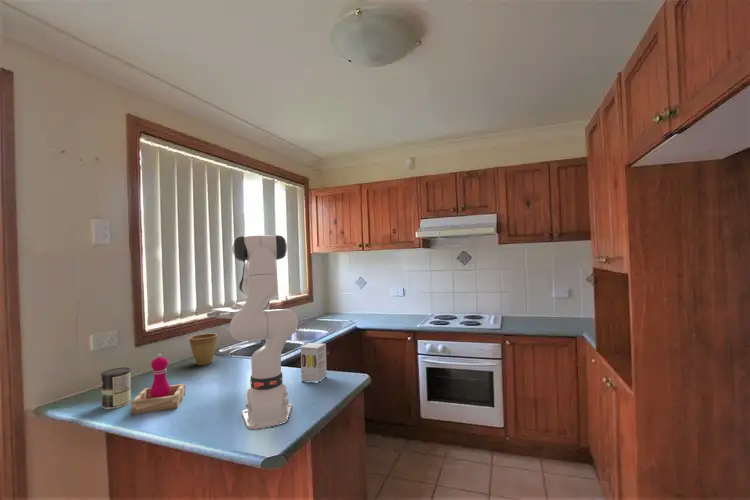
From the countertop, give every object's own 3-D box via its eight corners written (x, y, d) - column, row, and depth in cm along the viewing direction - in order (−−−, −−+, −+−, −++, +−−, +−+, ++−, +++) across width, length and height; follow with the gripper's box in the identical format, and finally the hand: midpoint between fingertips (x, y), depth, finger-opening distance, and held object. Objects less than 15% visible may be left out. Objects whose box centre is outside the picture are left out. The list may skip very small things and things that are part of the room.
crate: (177, 408, 148) (176, 396, 148) (131, 414, 143) (131, 402, 144) (185, 394, 163) (185, 383, 163) (144, 400, 159) (144, 388, 159)
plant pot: (221, 359, 221) (220, 332, 221) (212, 366, 206) (211, 338, 207) (196, 360, 220) (195, 333, 220) (185, 368, 205) (184, 339, 206)
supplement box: (300, 382, 175) (299, 346, 175) (310, 376, 184) (309, 342, 184) (318, 383, 172) (317, 347, 172) (327, 377, 181) (326, 343, 181)
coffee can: (97, 411, 148) (97, 376, 149) (106, 402, 158) (105, 369, 158) (127, 406, 152) (127, 372, 152) (134, 398, 162) (133, 366, 162)
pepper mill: (161, 405, 149) (160, 356, 150) (146, 404, 151) (145, 356, 151) (174, 398, 156) (173, 351, 157) (159, 398, 158) (158, 351, 158)
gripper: (226, 304, 186) (200, 307, 175) (252, 305, 175) (226, 310, 163) (226, 316, 186) (200, 321, 175) (252, 319, 175) (227, 324, 163)
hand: (213, 315), depth 169 cm, fingers open, 8 cm apart
